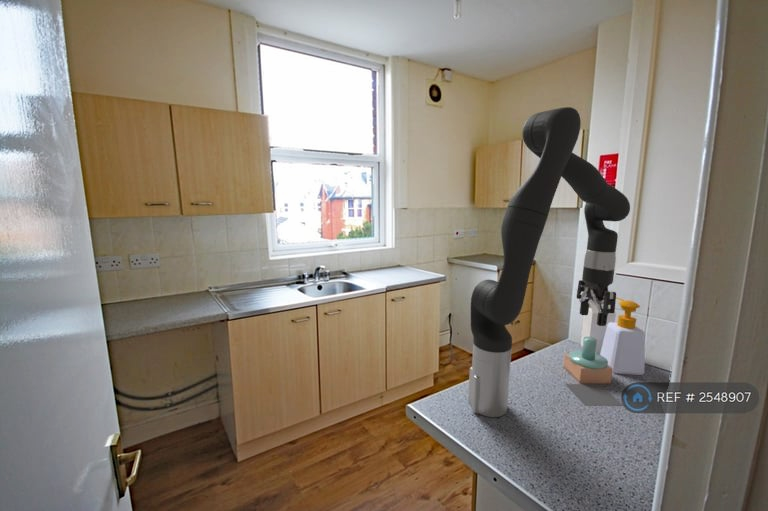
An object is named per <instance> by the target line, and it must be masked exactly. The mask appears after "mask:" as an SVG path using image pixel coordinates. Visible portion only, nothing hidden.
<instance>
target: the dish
mask: <svg viewBox="0 0 768 511" xmlns="http://www.w3.org/2000/svg"><path fill="white" fill-rule="evenodd" d="M563 369H564V370H566V372H567V373H569V374H570V376H571V377H572V378H574V379H575V380H576V381H577V383H578V384H611V383H612V377H613V376H612V375H613V372H612V369H613V368H611V367H610V366H609V365H608V366H607V367H606V368H604V369H590V368H585V367H582V366H579V365H577V364H575V363H573V362H572V361H571V360H570V359H569V353H564V359H563Z"/></svg>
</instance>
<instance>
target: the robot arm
mask: <svg viewBox="0 0 768 511" xmlns="http://www.w3.org/2000/svg"><path fill="white" fill-rule="evenodd" d="M581 124H582V123H581V118H580V114H579V112H578V110H577V109H576V108H574V107H571V106H570V107H568V106H567V107H566V106H565V107H559V108H554V109H549V110H544V111H541V112H540V111H539V112H537V113H534V114H531V116H529V117H528V118H527V119H526V121H525V122H524V124H523V127H522V132H521V133H522V134H521V135H522V139H523V140H522V141H523V143H524V145H525V146H526V147H527V148H528V150H529V151H531V152H532V153H533V154H534V155H536V156H537V157H538V158H539V161H538V162H537V165H536V166H535V168H534V170H533V171H532V173H531V174H530V175H529V176H528V177H527V178H526V180H525V181H524V182H523V183H522V184H521V185H520V186H519V187H518V189H517V190H516V191H515V192H514V194H513V195H512V196H511V198H510V200H509V201H508V204H507V208H506V210H505V213H504V216H503V220H502V223H501V229H500V230H501V232H500V233H501V246H502V250H503V265H502V269H501V272H500V275H499V280H498V281H497V280H494V279H493V280H492V279H484V280H482V281H480V282H478V283H477V285H476V286H475V287H474V288H473V290H472V294H471V297H470V331H471V333H472V336H473V340H472V341H473V342H472V344H473V345H472V360H471V364H472V365H471V366H470V367H469V375H468V376H469V378H468V379H469V380H468V398H467V399H468V402H469V404H470V407H471V410H472V412H473V413H474V414H479V415H482V416H484V417H487V418H488V417H489V418H499V417H503V416H504V415H506V414H507V412H508V406H509V391H510V390H509V388H510V376H511V362H512V348H513V338H512V334H511V333H510V331H509V330H508V329H507V327H506V326H507V325H511V324H512V323H513V322H514V321H515V320H517V318H518V317H519V315H520V313H521V311H522V308H523V305H524V302H525V297H526V291H527V287H528V283H529V278H530V274H531V270H532V266H533V263H534V259H535V257H536V256H535V255H536V252H537V250H538V247H539V243H540V239H541V237H542V234H543V232H544V230H545V229H544V228H545V226H546V223H547V220H548V217H549V213H550V211H551V207H552V204H553V201H554V198H555V195H556V192H557V189H558V186H559V184H560V181H561V178H562V179H564V181H566V183H568V185H569V186H570V187H571V189H572V191H574V193H575V194H576V195H577V196H578V197H579V199H580V200H581V201H582V202H584V203H585V205H584V209H583V212H584V218H585V219H584V220H585V224H586V230H587V235H588V237H587V246H586V252H585V254H584V260H583V269H582V275H581V276H582V278H581V279H580V280H579V281H578V286H577V292H576V299H579V303H580V307H579V315H580V316H584V315H588V311H589V302H590V301H591V300H593V301H594V303H595V305H596V306H597V307H598V311H599V313H598V317H597V325H599V326H605V325H606V323H607V316H608V314H609V313H614V312H615V313H616V311H615V310H616V301H617V300H616V297H617V292H615V291H609V286H610V285H612V284H613V283H614V276H615V270H616V269H615V268H616V261H617V259H616V258H617V256H616V255H617V246H618V239H619V238H618V237H619V234H618V232H617V231H615V230H613V229H610V228H608V227H606V226H605V223H604V222H620V221H623V220H625V219H626V218H627V217H628V216H629V214H630V211H631V204H630V203H631V202H630V200H629V199H628V198H627V196H626V195H625V194H624V193H623V192H621V191H620V190H618V189H617V188H616V187H614V186H612V185H611V184H609V183H608V182H607V181H606V179H605V178H604V176H603V175H602V174H601V172H600V171H599V170H598V168H597V167H596V166H595V165H593V164H592V163H590V162H589V161H588V160H586V159H584V158H583V157H581V156H579V155H577V154H576V153H574V149H575V146H576V144H577V142H578V139H579V135H580V131H581ZM603 300H604V302H601V301H603ZM608 305H610V309H609V306H608ZM602 306H603V309H602Z"/></svg>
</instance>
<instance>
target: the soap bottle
mask: <svg viewBox="0 0 768 511" xmlns="http://www.w3.org/2000/svg"><path fill="white" fill-rule="evenodd" d="M616 299H617V300H619V302H618V305H619V306H620V310H622V311H624V314H620V315H618V316H617V322H615V323H614V322H610V323H608V325H607V329H606V333H605V337H604V341H603V345H602V349H601V353H600V355H601V356H603V357H604V358H606V359H607V361H608V365H609V366H610V367H611V368H613V369H612V374H619V375H633V376H634V375H636V376H643V375H644V374H645V359H646V358H645V354H646V352H645V351H646V334H645V333H646V332H645V331H644V330H643V329H641V328H640V327H638V326H637V325H636V323H637V318H636V317H634V316H631V315H632V313H635V312H636V311H637V309H639V308H640V307H641V306H640V305H639V304H638V303H637V302H635V301H632V300H625V299H622V298H620V297H618V296H616Z"/></svg>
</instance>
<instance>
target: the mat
mask: <svg viewBox="0 0 768 511" xmlns="http://www.w3.org/2000/svg"><path fill="white" fill-rule="evenodd" d="M564 385H565V386H566V387H567V388H568V389H569V390H570V391H571V392H572V394H573V395H574V396H575V397H576V398H577V399H578V400H579V401H580V402H581V403H582V404H583V405H584V406H595V407H596V406H599V407H600V406H601V407H602V406H612V407H613V406H615V407H617V406H620V407H621V406H624V404H622V402H620V400H618V399H617V398H616V397H615V396H614V395H613V394H611V393H610V392H609V391H608V390H607V389H606V388H605V387H604V386H603V385H601V383H564Z"/></svg>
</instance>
